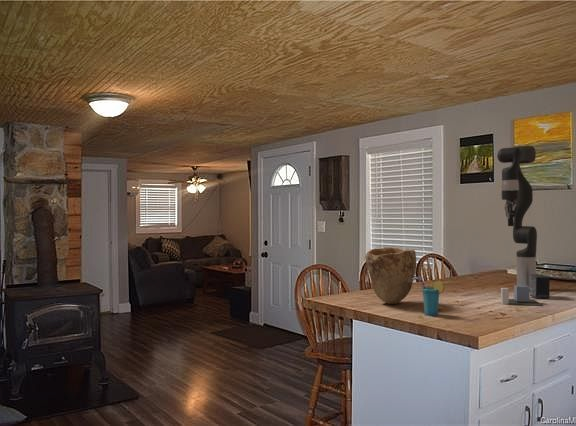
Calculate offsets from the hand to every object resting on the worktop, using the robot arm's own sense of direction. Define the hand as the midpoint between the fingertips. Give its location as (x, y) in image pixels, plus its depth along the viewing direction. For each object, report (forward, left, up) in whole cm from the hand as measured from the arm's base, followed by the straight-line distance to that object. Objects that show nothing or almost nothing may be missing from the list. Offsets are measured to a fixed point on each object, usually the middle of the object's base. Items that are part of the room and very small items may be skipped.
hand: (510, 226), depth 241 cm
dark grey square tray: (+12, +2, -34) cm, 36 cm away
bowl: (+22, -56, -35) cm, 69 cm away
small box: (-4, +14, -35) cm, 38 cm away
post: (+16, -6, -34) cm, 38 cm away
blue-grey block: (+12, +2, -33) cm, 35 cm away
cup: (+44, -41, -35) cm, 69 cm away
